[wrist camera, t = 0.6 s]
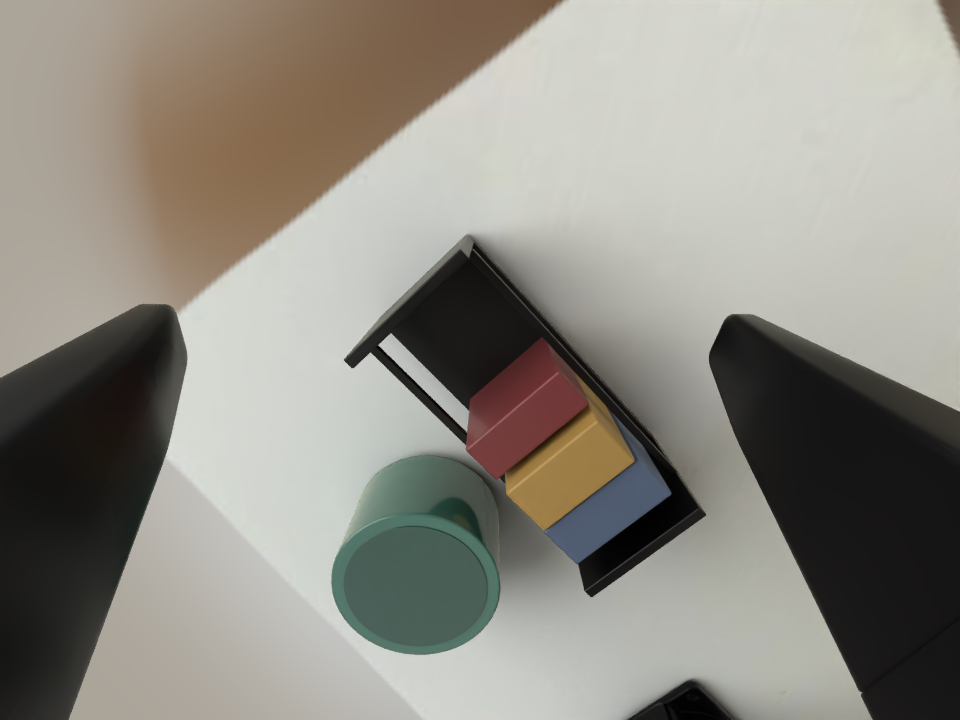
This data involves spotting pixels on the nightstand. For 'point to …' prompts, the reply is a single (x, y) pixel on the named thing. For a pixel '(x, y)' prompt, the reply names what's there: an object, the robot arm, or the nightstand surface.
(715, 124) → the nightstand surface
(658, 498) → the books
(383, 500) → the green glass jar
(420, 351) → the rack
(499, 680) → the nightstand surface
